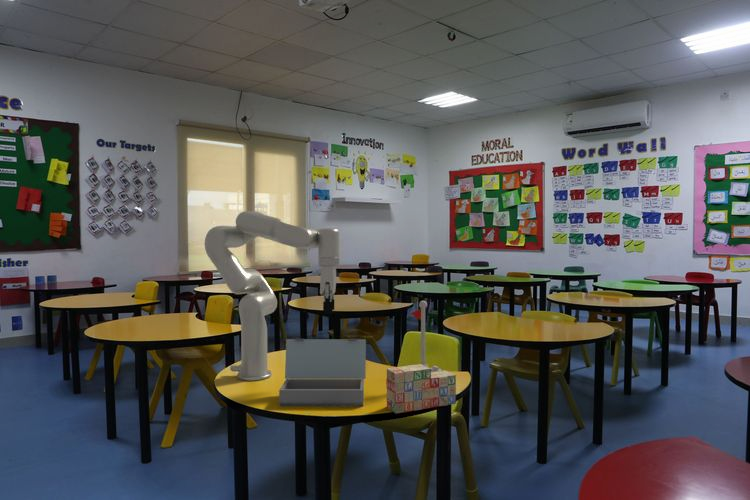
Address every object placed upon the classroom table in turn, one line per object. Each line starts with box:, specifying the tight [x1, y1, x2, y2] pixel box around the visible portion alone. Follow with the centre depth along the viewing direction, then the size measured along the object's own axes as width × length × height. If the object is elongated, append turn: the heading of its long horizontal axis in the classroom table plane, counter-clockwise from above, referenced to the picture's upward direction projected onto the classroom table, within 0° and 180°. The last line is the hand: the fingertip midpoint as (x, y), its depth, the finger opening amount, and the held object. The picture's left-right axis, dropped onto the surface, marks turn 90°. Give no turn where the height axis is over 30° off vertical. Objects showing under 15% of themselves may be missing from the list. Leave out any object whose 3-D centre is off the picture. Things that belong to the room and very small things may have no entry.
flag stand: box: [410, 300, 442, 372], centre depth 171 cm, size 13×13×30 cm
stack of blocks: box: [385, 363, 457, 414], centre depth 148 cm, size 21×6×12 cm, turn 113°
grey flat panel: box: [284, 338, 367, 380], centre depth 161 cm, size 27×13×2 cm
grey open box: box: [278, 379, 365, 407], centre depth 153 cm, size 26×12×5 cm, turn 90°
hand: (328, 311), depth 172 cm, fingers open, 7 cm apart
